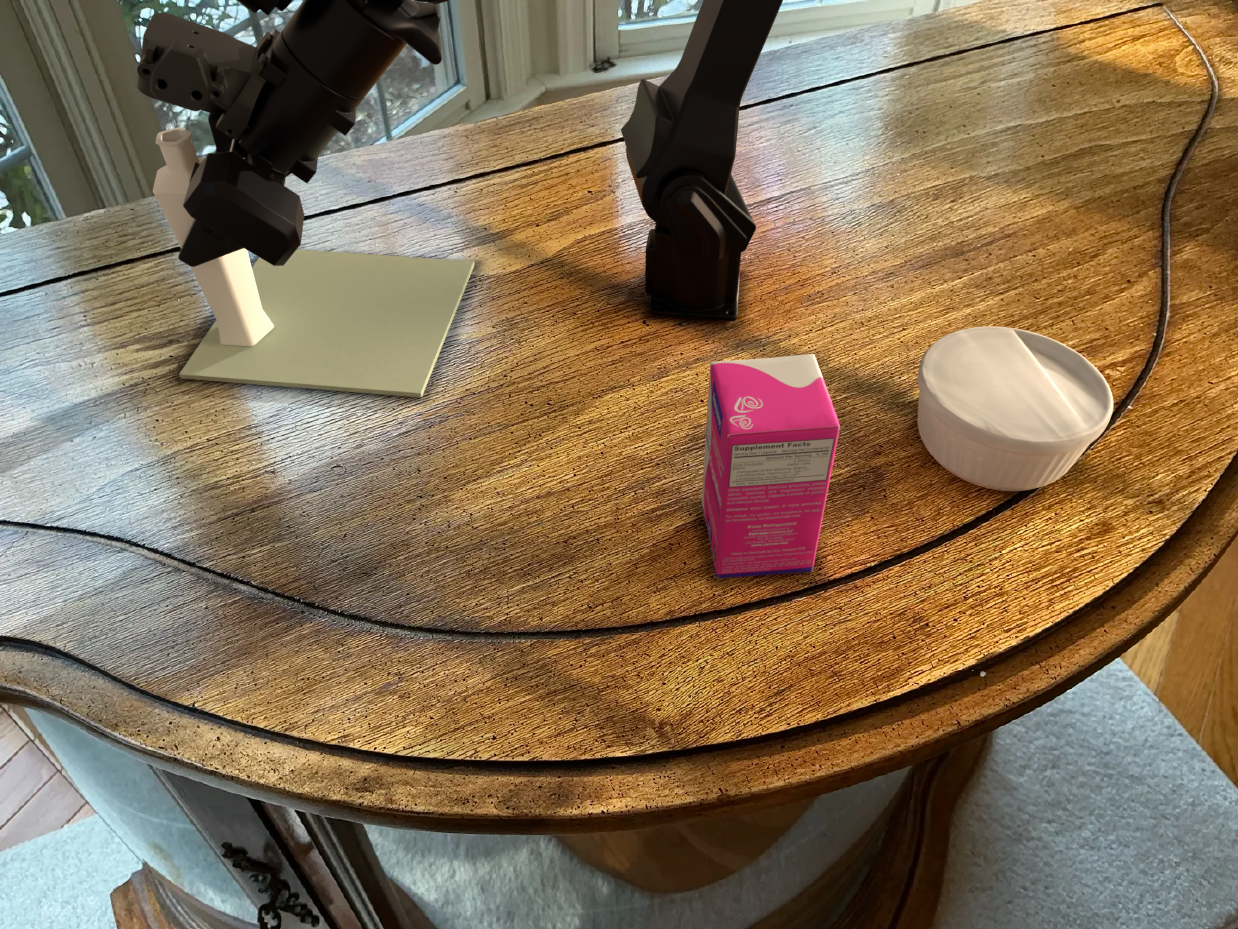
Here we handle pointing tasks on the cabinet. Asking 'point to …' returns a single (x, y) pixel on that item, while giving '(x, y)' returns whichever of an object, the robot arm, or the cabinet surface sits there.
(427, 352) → the mat
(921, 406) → the ramekin
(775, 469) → the supplement box
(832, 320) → the cabinet surface
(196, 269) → the beige vase
